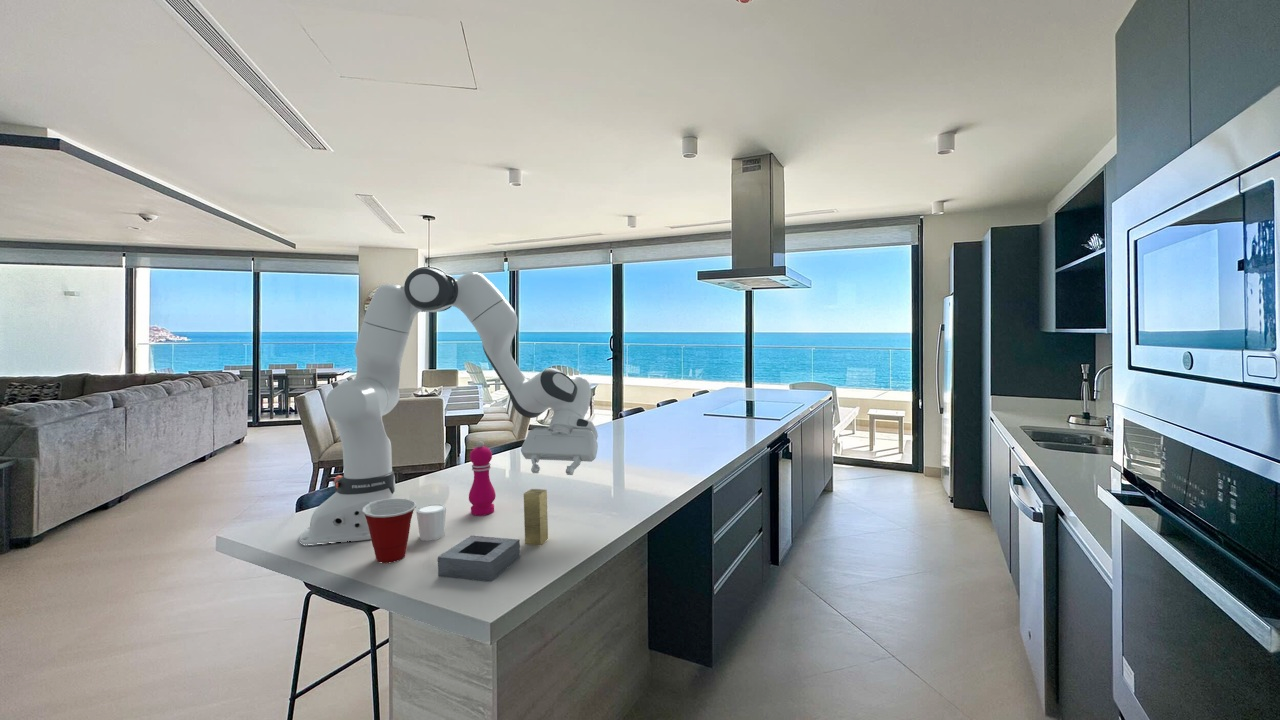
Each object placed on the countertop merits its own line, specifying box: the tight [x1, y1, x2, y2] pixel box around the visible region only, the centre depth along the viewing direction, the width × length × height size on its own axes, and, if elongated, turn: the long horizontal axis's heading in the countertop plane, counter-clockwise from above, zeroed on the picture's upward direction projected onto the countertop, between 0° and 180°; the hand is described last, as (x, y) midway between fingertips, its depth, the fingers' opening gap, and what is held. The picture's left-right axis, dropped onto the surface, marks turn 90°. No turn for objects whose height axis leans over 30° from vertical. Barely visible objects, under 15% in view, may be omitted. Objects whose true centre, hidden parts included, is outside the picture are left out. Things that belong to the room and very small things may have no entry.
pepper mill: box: [468, 440, 497, 517], centre depth 146 cm, size 7×7×20 cm
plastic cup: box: [362, 497, 417, 564], centre depth 115 cm, size 11×11×12 cm
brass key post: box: [523, 488, 549, 546], centre depth 123 cm, size 4×4×12 cm
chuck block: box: [437, 535, 521, 583], centre depth 110 cm, size 12×12×4 cm
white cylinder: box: [415, 503, 447, 542], centre depth 128 cm, size 7×7×7 cm
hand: (551, 473), depth 132 cm, fingers open, 8 cm apart
